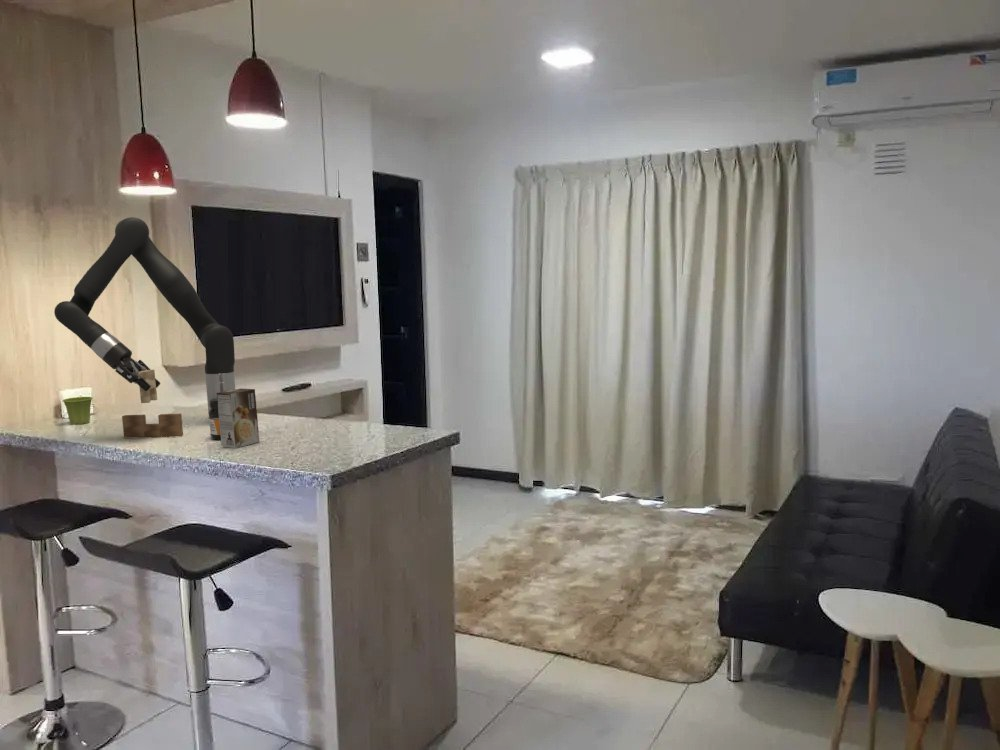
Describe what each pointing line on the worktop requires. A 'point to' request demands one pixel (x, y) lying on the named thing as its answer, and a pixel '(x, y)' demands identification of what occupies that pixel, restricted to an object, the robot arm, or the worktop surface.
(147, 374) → the wooden arch block
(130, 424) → the walnut board
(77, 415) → the plant pot
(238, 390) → the coffee box
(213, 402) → the supplement container
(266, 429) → the worktop surface
